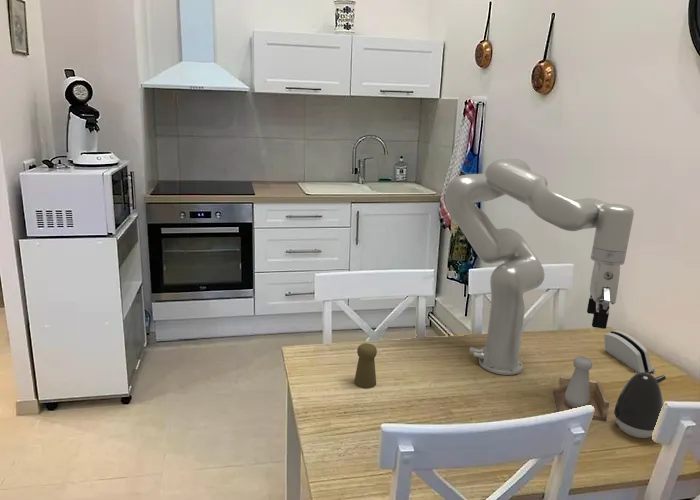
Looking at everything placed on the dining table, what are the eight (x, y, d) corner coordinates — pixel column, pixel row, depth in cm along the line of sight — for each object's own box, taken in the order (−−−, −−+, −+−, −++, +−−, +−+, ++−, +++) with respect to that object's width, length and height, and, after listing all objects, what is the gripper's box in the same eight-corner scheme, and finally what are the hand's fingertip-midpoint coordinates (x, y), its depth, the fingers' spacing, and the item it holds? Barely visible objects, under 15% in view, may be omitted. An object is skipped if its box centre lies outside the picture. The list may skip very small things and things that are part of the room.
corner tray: (558, 413, 135) (561, 395, 134) (553, 392, 146) (556, 375, 144) (605, 421, 133) (609, 402, 132) (597, 399, 143) (600, 381, 142)
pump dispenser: (670, 442, 125) (683, 382, 122) (631, 446, 123) (643, 385, 119) (638, 418, 135) (650, 362, 131) (602, 421, 133) (612, 364, 129)
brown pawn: (379, 380, 147) (382, 343, 145) (371, 390, 142) (373, 352, 139) (359, 375, 150) (361, 338, 147) (350, 385, 144) (352, 347, 142)
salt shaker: (588, 413, 134) (597, 365, 131) (564, 408, 136) (571, 361, 132) (587, 402, 139) (595, 356, 136) (563, 397, 141) (570, 351, 138)
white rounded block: (656, 373, 159) (652, 345, 156) (642, 379, 159) (638, 350, 156) (618, 349, 175) (614, 322, 172) (605, 354, 175) (600, 328, 171)
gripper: (632, 266, 123) (618, 336, 127) (618, 248, 139) (606, 311, 143) (596, 262, 125) (583, 330, 129) (587, 245, 141) (576, 306, 145)
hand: (595, 320), depth 136 cm, fingers open, 9 cm apart
